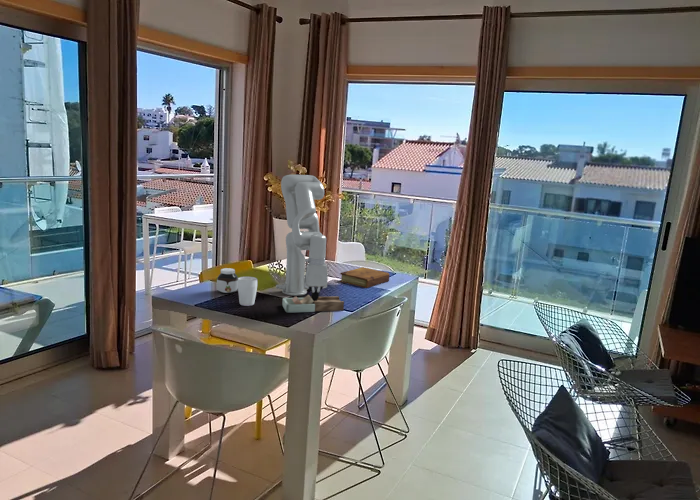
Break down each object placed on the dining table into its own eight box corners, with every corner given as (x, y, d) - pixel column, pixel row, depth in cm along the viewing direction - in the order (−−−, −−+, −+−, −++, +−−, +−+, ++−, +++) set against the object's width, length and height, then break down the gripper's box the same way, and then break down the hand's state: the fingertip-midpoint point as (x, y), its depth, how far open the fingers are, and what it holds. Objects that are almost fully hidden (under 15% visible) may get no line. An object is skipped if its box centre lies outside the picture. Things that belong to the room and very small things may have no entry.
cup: (257, 301, 254) (258, 277, 252) (255, 307, 245) (256, 281, 243) (238, 300, 254) (239, 275, 251) (235, 306, 245) (236, 280, 242)
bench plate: (314, 311, 245) (314, 302, 244) (309, 305, 254) (310, 296, 253) (343, 310, 249) (344, 301, 249) (338, 304, 258) (338, 296, 257)
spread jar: (215, 294, 262) (215, 270, 260) (221, 288, 273) (221, 265, 271) (239, 295, 262) (240, 272, 259) (244, 289, 273) (245, 267, 270)
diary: (367, 289, 293) (367, 279, 291) (339, 282, 303) (340, 272, 302) (388, 282, 311) (389, 272, 310) (362, 276, 322) (362, 266, 320)
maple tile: (305, 308, 245) (302, 304, 245) (303, 304, 250) (300, 300, 249) (314, 301, 246) (311, 297, 245) (311, 298, 251) (308, 294, 250)
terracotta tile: (304, 307, 245) (300, 310, 245) (302, 303, 250) (297, 307, 250) (298, 298, 244) (293, 302, 243) (296, 295, 248) (291, 299, 248)
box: (286, 312, 240) (286, 305, 240) (282, 305, 251) (282, 298, 250) (314, 311, 244) (315, 304, 244) (309, 304, 255) (309, 297, 254)
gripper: (302, 263, 240) (300, 302, 243) (334, 263, 244) (332, 302, 248) (299, 259, 247) (297, 298, 250) (330, 259, 251) (328, 297, 255)
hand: (314, 300), depth 249 cm, fingers closed
